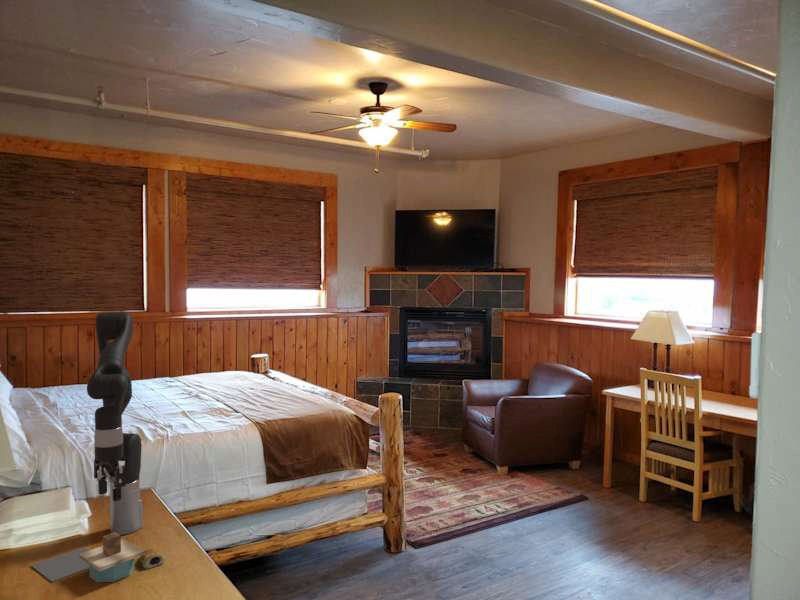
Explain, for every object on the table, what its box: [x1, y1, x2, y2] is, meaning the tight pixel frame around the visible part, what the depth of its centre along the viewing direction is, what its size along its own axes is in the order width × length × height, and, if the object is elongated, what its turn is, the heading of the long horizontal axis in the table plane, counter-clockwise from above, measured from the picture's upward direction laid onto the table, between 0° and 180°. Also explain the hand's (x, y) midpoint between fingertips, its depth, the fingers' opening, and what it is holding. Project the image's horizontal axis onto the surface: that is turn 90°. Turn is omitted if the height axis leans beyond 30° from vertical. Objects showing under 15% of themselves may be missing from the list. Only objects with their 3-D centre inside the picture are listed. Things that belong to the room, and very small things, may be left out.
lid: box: [79, 532, 145, 571], centre depth 172 cm, size 13×13×6 cm
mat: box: [30, 547, 90, 584], centre depth 177 cm, size 15×15×1 cm
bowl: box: [89, 558, 136, 583], centre depth 173 cm, size 11×11×5 cm
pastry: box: [139, 548, 166, 570], centre depth 180 cm, size 9×7×4 cm
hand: (109, 497), depth 172 cm, fingers open, 8 cm apart
